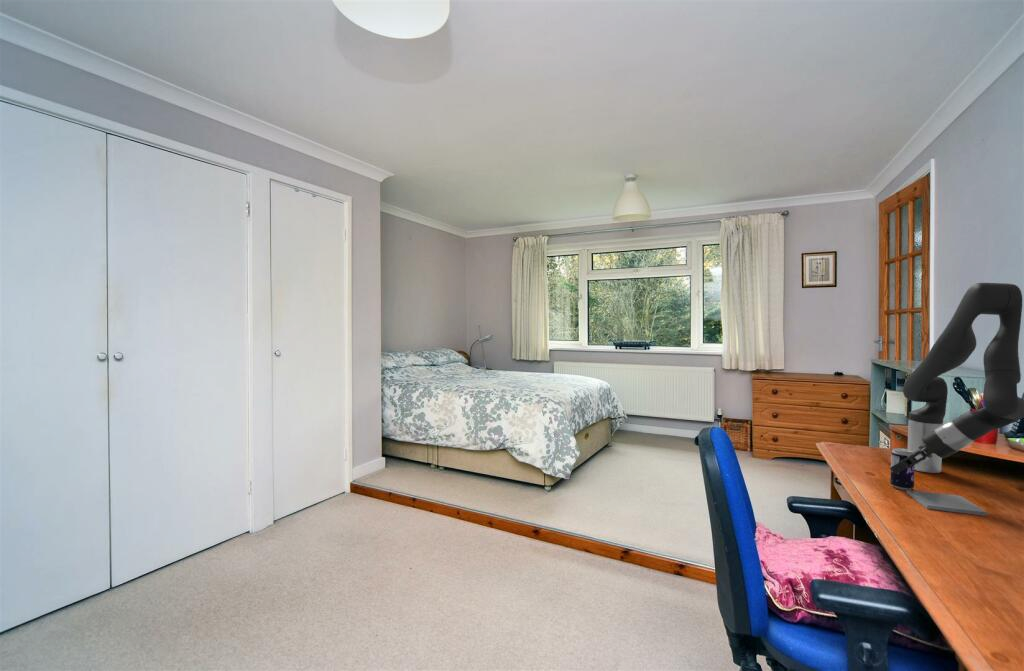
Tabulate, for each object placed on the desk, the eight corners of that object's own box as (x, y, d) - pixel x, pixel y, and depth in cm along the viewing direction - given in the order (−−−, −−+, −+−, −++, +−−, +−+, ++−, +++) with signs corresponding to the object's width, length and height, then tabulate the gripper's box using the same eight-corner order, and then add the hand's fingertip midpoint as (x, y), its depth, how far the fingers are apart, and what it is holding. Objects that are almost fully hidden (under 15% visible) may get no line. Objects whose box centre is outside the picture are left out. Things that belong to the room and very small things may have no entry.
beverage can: (908, 492, 144) (909, 453, 143) (886, 486, 149) (887, 448, 148) (917, 489, 146) (918, 451, 146) (895, 483, 151) (897, 446, 151)
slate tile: (906, 493, 143) (906, 489, 143) (960, 499, 139) (960, 495, 139) (927, 508, 131) (927, 505, 131) (987, 515, 126) (987, 512, 126)
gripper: (940, 425, 146) (890, 455, 155) (931, 432, 137) (879, 463, 146) (963, 446, 142) (910, 475, 151) (955, 454, 133) (900, 484, 142)
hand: (895, 469), depth 149 cm, fingers closed on beverage can, 5 cm apart
